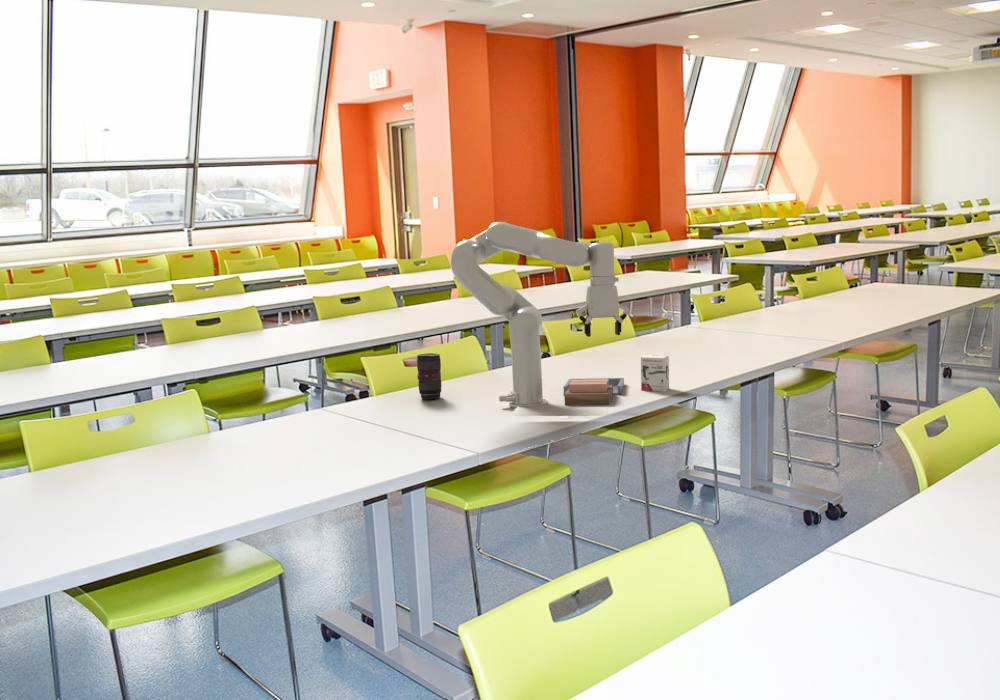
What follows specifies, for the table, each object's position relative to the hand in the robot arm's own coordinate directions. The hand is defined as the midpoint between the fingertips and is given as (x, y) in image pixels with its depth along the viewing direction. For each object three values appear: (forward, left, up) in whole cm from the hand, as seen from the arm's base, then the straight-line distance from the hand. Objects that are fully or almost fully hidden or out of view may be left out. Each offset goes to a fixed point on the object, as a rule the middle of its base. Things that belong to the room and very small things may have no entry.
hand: (602, 335), depth 285 cm
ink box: (+22, +7, -21) cm, 32 cm away
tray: (+4, +18, -21) cm, 28 cm away
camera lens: (-48, +38, -21) cm, 65 cm away
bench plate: (-4, +4, -21) cm, 22 cm away
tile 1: (-5, +2, -18) cm, 18 cm away
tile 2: (-2, +6, -18) cm, 19 cm away
